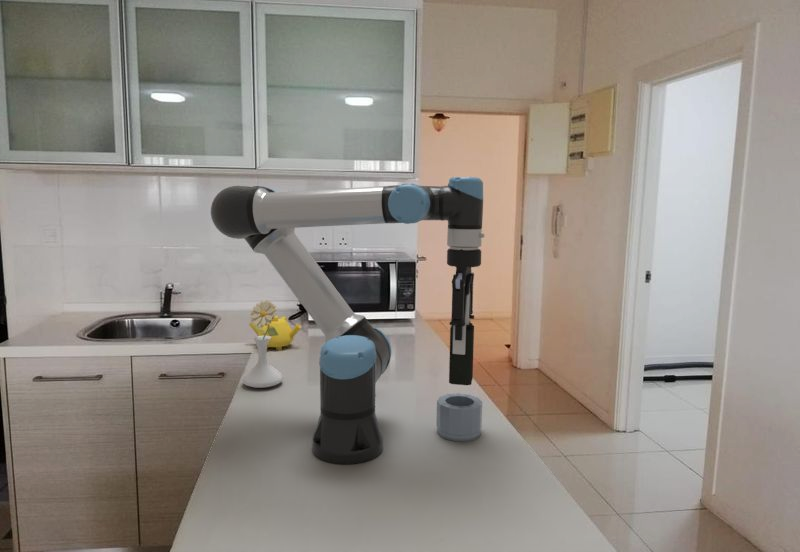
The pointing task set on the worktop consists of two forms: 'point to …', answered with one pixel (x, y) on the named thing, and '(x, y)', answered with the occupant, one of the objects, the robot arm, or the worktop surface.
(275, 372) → the flower in vase
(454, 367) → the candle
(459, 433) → the pale blue faceted cup
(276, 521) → the worktop surface
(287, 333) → the teapot
